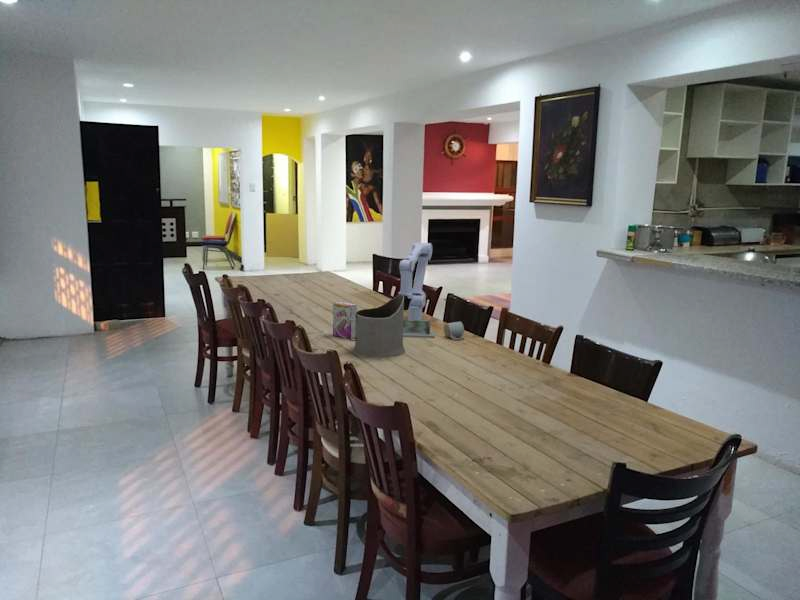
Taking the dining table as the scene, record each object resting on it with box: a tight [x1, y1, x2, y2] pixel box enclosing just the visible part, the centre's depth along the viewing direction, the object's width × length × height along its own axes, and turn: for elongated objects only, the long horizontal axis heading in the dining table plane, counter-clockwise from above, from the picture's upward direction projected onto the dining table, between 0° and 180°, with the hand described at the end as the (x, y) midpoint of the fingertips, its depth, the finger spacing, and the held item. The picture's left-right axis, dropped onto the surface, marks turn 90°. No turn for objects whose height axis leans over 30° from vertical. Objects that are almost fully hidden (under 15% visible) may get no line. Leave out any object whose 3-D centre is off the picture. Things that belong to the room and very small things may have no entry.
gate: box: [403, 319, 431, 332], centre depth 303 cm, size 14×1×6 cm, turn 88°
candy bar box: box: [332, 301, 358, 340], centre depth 295 cm, size 11×5×16 cm, turn 58°
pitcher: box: [334, 294, 406, 359], centre depth 269 cm, size 23×32×25 cm
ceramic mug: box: [443, 321, 465, 342], centre depth 298 cm, size 11×8×8 cm
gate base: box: [403, 321, 435, 339], centre depth 301 cm, size 8×20×7 cm, turn 89°
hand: (405, 310), depth 311 cm, fingers closed
